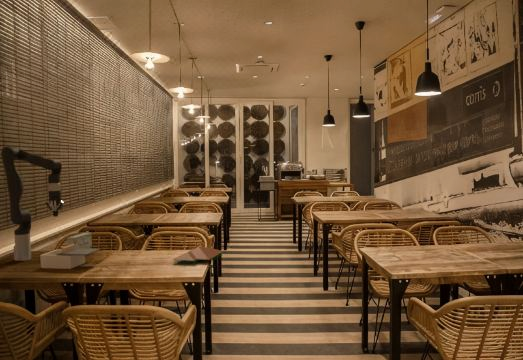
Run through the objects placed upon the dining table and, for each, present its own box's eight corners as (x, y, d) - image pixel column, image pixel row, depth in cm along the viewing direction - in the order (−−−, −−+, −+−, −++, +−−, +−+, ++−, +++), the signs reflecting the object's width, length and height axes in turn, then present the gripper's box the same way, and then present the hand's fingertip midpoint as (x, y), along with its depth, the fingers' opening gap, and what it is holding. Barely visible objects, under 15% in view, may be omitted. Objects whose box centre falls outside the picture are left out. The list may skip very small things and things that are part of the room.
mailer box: (40, 267, 285) (40, 255, 284) (56, 261, 301) (56, 249, 300) (70, 268, 281) (70, 255, 281) (85, 262, 297) (84, 250, 297)
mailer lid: (56, 254, 282) (56, 248, 282) (71, 249, 298) (71, 243, 298) (86, 255, 279) (86, 249, 279) (100, 250, 295) (100, 244, 295)
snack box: (74, 260, 304) (73, 237, 303) (67, 260, 305) (66, 237, 304) (92, 253, 325) (92, 232, 324) (85, 253, 326) (84, 232, 325)
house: (225, 254, 314) (224, 243, 314) (206, 266, 282) (206, 253, 282) (193, 253, 320) (193, 241, 320) (172, 264, 289) (171, 251, 288)
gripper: (41, 190, 300) (42, 217, 301) (60, 190, 297) (61, 217, 298) (48, 189, 307) (50, 215, 308) (67, 189, 305) (68, 215, 306)
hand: (55, 216), depth 303 cm, fingers closed
